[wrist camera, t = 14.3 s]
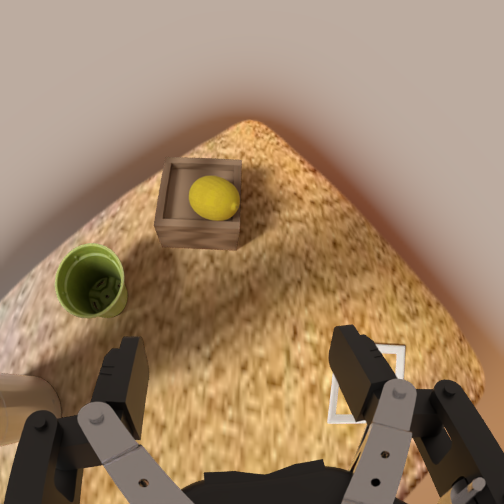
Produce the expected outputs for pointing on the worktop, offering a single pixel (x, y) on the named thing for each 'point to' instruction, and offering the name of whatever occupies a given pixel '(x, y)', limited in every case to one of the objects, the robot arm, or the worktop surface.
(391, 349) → the white square frame
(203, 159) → the wooden box
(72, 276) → the plant pot
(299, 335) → the worktop surface
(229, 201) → the lemon
